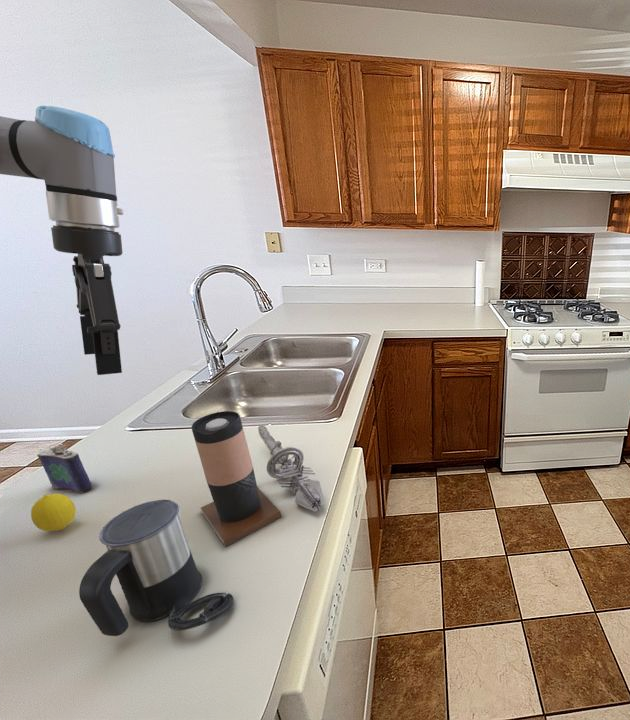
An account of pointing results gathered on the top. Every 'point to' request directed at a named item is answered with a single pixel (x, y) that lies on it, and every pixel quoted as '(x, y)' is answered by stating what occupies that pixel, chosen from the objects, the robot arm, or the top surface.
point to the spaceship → (292, 472)
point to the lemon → (53, 512)
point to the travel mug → (227, 465)
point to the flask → (65, 470)
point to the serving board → (241, 521)
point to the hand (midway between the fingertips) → (102, 363)
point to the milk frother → (147, 572)
